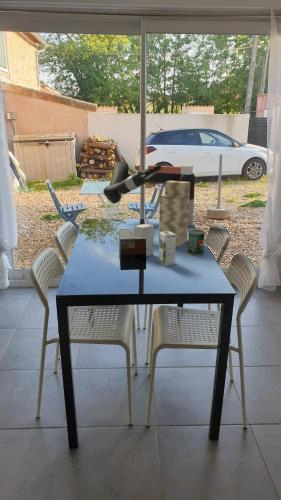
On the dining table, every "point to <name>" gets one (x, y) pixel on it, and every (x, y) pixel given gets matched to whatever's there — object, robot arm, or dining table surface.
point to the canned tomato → (196, 242)
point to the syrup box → (167, 248)
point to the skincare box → (145, 236)
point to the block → (174, 169)
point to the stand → (175, 210)
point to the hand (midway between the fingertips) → (161, 166)
